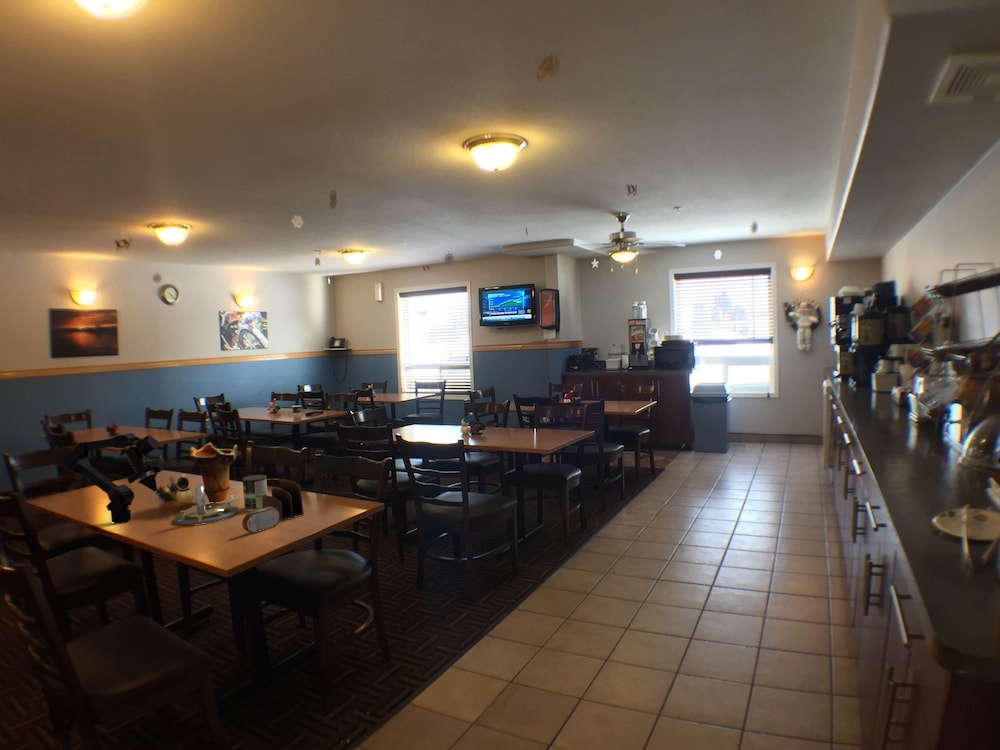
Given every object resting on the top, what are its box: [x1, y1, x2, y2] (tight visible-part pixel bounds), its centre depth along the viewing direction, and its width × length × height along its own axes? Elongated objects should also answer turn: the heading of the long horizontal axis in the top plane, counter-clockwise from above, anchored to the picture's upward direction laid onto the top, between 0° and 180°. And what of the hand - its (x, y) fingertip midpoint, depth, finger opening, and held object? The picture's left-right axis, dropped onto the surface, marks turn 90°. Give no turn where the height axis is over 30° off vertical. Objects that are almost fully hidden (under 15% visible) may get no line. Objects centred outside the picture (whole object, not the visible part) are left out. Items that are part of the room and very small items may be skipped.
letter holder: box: [262, 479, 305, 521], centre depth 258 cm, size 10×20×14 cm, turn 44°
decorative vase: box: [189, 442, 238, 503], centre depth 285 cm, size 21×23×28 cm
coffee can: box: [241, 474, 269, 511], centre depth 270 cm, size 10×10×14 cm
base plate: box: [174, 504, 239, 526], centre depth 260 cm, size 25×25×2 cm
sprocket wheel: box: [179, 485, 234, 519], centre depth 259 cm, size 21×21×13 cm
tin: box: [242, 507, 281, 534], centre depth 237 cm, size 15×3×8 cm, turn 141°
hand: (156, 490), depth 257 cm, fingers closed
